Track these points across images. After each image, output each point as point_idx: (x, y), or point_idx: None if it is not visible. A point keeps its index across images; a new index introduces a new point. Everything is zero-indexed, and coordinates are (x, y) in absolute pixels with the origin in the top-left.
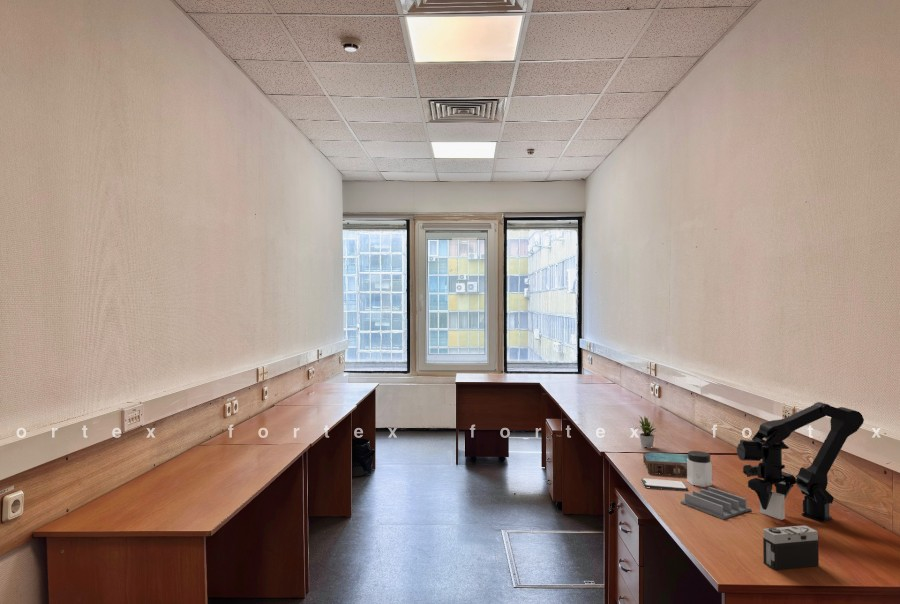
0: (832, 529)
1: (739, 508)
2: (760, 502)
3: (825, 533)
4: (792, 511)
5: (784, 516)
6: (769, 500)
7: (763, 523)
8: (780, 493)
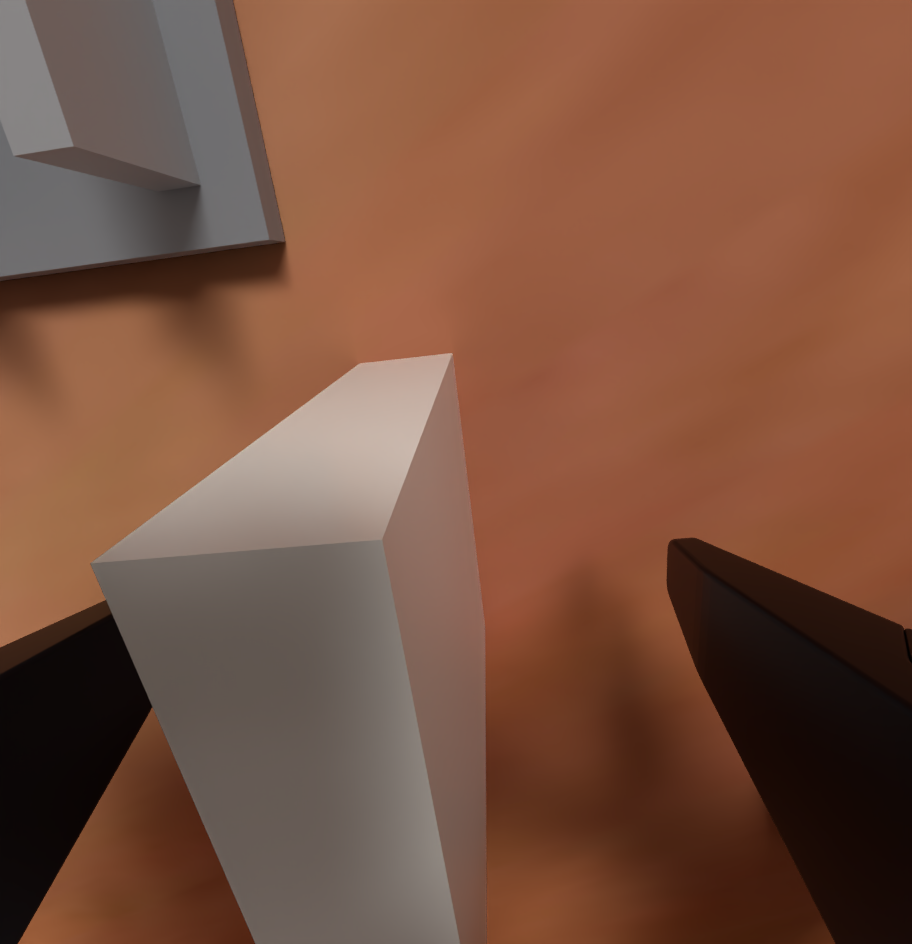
0: (663, 909)
1: (34, 164)
2: (22, 641)
3: (507, 918)
4: (865, 527)
5: (484, 646)
6: (38, 878)
7: None
8: (809, 768)
